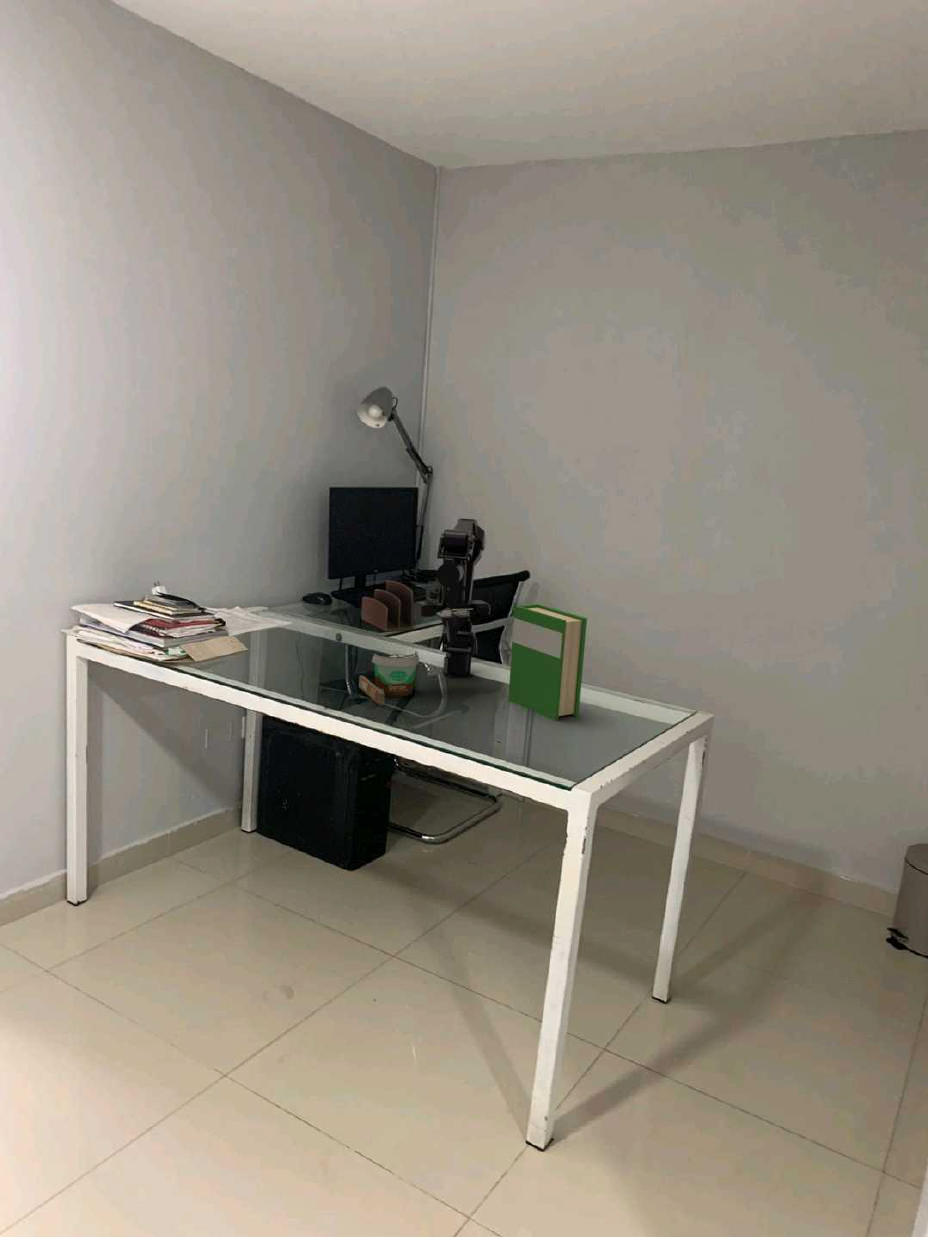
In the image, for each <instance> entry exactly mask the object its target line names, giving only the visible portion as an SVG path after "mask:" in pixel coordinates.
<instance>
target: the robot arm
mask: <svg viewBox="0 0 928 1237" xmlns="http://www.w3.org/2000/svg"><path fill="white" fill-rule="evenodd" d="M437 549H438V550H437V555H436V556H437V559H439V560H440V559H441V560H442V564H441V565H440V566H439V567H438V568H437V570H436V572H435V573H436V574H435V576H436V580H437V582H438V584H439V587H438V589H436V586H427V587H426V589H425V590H426V592H425V599H426V600H427V601H416V602H415V603H414V604H413V614H416V615H418V616H419V617H421V618H432V617H433V618H434V617H438V618H439V619H440V620H441V623H442V626H443V628H444V630H443V631H442V648H441V649H442V651H441V652H442V653H445V656H444V657H443V669H442V672H443V673H444V674H446V675H447V676H449V677H450V678H459V677H460V678H462V677H472V676H473V677H474V673H472V671H471V668H472V666H471V665H472V656H474V655H476V654H478V638H477V637H476V632H474V626H473V623H472V622H471V620H470V612H476V613H477V614H478V615H479V616H489V615H491V606H490V604H489V603H487V602H485V601H483V600H481V599H479V600H478V599H477V600H473V599H472V593H473V584H474V575H475V567H476V565H477V564H478V563H479V562H480V560H481V559H482V556H483V551H485V549H486V533H485V530H484V529H483V528H482V527H480V526H479V525H478V520H476V519H475V518H466V517H465V518H461V517H460V518H458V519H457V523H456V525H455V526H454V527H453V528H450V529H449V528H447V529H446V528H445V529H444V530H443V533H441V534H440V538H439V543H438V548H437ZM431 601H432V602H431Z"/></svg>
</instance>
